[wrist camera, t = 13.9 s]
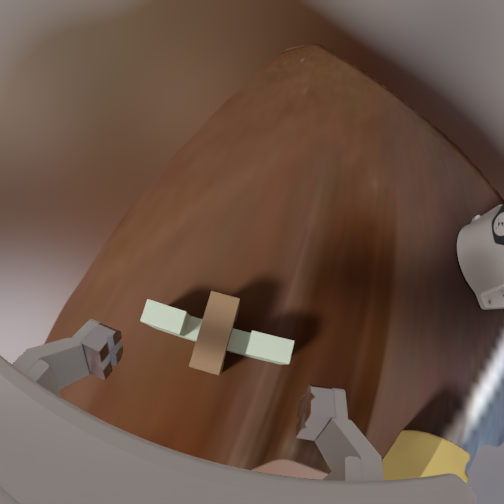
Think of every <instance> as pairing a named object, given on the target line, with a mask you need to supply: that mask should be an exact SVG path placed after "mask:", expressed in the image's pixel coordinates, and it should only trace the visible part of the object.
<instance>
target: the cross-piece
mask: <svg viewBox="0 0 504 504" xmlns="http://www.w3.org/2000/svg"><path fill="white" fill-rule="evenodd" d="M239 303H240V298H236V297H232V296H229V295H225V294H221V293H218V292H214V291H211V293H210V297H209V300H208V303H207V306H206V310H205V313H204V316H203V320H202V323H201V326H200V330H199V333H198V337H197V340H196V343H195V347H194V350H193V354H192V357H191V361H190V364H189V367H193V368H196V369H199V370H202V371H206V372H209V373H213V374H216V375H220V374H221V373H222V370H223V366H224V363H225V361H224V358H225V355H226V351H227V347H228V344H229V340H230V337H231V333H232V329H233V326H234V322H235V323H236V319H237V316H238V312H239Z"/></svg>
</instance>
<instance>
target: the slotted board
mask: <svg viewBox="0 0 504 504" xmlns="http://www.w3.org/2000/svg"><path fill="white" fill-rule="evenodd" d="M202 320H203V319H199V318H196V317H193V316H190V315H189V314H188V313H187V312H186V311H183V310H180V309H177V308H174V307H170V306H167V305H164V304H161V303H158V302H155V301H152V300H149V299H147V302H146V305H145V308H144V311H143V314H142V317H141V320H140V321H142V322H144V323H145V324H147V325H149V326H151V327H153V328H155V329H158V330H161V331H164V332H167V333H170V334H173V335H176V336H179V337H182V338H185V339H188V340H191V341H195V342H196V340H197V337H198V333H199V330H200V326H201V323H202ZM293 346H294V340H289V339H285V338H281V337H277V336H273V335H269V334H265V333H261V332H257V331H253V330H252V332H251V333H249V332H245V331H242V330H238V329H234V328H233V329H232V333H231V337H230V340H229V344H228V347H227V351H229V352H232V353H236V354H240V355H244V356H248V357H251V358H255V359H259V360H263V361H268V362H272V363H276V364H289V362H290V358H291V354H292V350H293Z"/></svg>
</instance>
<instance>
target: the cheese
mask: <svg viewBox="0 0 504 504" xmlns="http://www.w3.org/2000/svg"><path fill="white" fill-rule="evenodd" d="M469 459H470V453H468V452H467V451H465V450H463V449H462V448H460V447H459V446H457V445H456V444H454V443H453V442H451V441H449V440H447V439H444V438H442V437H439V436H436V435H433V434H430V433H427V432H422V431H415V430H402V431H401V433H400V434H399V436H398V437H397V439H396V441H395V442H394V444H393V445H392V447H391V448H390V450H389V451H388V453H387V454H386V456H385V457H384V459H383V460H382V468H383V478H384V480H399V479H411V478H420V477H428V476H435V475H441V474H447V473H454V474H456V475H457V476H459V477H460V478H461V479H462V480H463V481H464V482H465V483H466V484H467V481H468V475H467V473H466V472H465V467H466V465H467V463H468V461H469Z"/></svg>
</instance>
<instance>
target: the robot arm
mask: <svg viewBox="0 0 504 504" xmlns="http://www.w3.org/2000/svg"><path fill="white" fill-rule="evenodd" d="M457 255H458V260H459V264H460V268H461V270H462V273H463V275H464V277H465V279H466V281H467V283H468V284H469V286H470V287H471V288H472V290H473V291H474V293H475V294H476V297H477V300H478V302H479V305H480V307H481V308H482V309H483V310H491V309H504V204H503V205H498V206H497V207H495V208H494V209H492V210H490V211H489V212H487V213H486V214H484V215H482V216H480V215H476V216H475V217H474V218H473V219H472V221H471V223H470V224H468V225H466V226H464V227H463V228H462V229H461V231H460V232H459V235H458V239H457ZM121 338H122V337H121V332H120V331H119V330H116V329H114V328H112V327H109V326H107V325H105V324H103V323H100V322H98V321H96V320H94V319H91V320H89V321H88V322H87V323H86V324H85V325H84V326H83V327H82V328H81V329H80V330H79V331H78V332H77V333H76V334H75V335H74V336H73V337H72V338H71V339H70V338H65V339H61V340H58V341H55V342H51V343H48V344H44V345H41V346H37V347H34V348H30V349H27V350H26V351H25V352H24V353H23V354H22V355H21V356H20V357H19V358H18V359H17V360H16V361H15V362H14V363H13V364H11V363H9V362H8V361H7V360H5V359H4V358H3V357H2V356H0V504H477V502H476V498H475V494H474V492H473V490H472V489H471V488H470V487H469V486H468V485H467V484H466V483H465V482H464V481H463V480H462V479H461V478H460V477H459V476H457V475H456V474H454V473H447V474H441V475H435V476H428V477H420V478H411V479H399V480H384V478H383V468H382V459H381V456H380V455H379V453H378V452H377V451H376V450H375V449H374V447H373V446H372V445H371V444H370V443H369V441H368V440H367V439H366V438H365V436H364V435H363V434H362V433H361V432H360V430H359V429H358V428H357V427H356V425H355V424H354V423H353V422H352V420H348V414H347V403H346V394H345V390H343V389H336V388H330V387H323V386H317V385H311V384H310V385H309V386H308V387H307V389H306V395H305V396H303V397H302V399H301V401H300V404H299V407H298V413H297V417H298V418H299V422H298V424H297V427H296V438H301V439H307V440H314V441H315V443H316V445H317V446H318V448H319V450H320V452H321V454H322V455H323V457H324V459H325V461H326V462H327V464H328V466H329V468H330V469H331V471H332V472H331V473H329V474H328V475H327V476H326V477H325V478H324V479H323V480H316V479H306V478H296V477H288V476H281V475H280V476H279V475H273V474H267V473H262V472H255V471H251V470H246V469H241V468H236V467H232V466H228V465H224V464H219V463H216V462H212V461H208V460H204V459H201V458H198V457H194V456H191V455H188V454H184V453H181V452H178V451H175V450H172V449H169V448H167V447H164V446H161V445H158V444H156V443H153V442H150V441H148V440H145V439H143V438H140V437H138V436H135V435H133V434H131V433H128V432H126V431H124V430H121V429H119V428H117V427H115V426H113V425H111V424H109V423H106V422H104V421H102V420H100V419H98V418H96V417H94V416H92V415H91V414H89V413H87V412H85V411H83V410H81V409H79V408H78V407H76V406H74V405H72V404H70V403H69V402H67V401H65V400H64V399H62V396H61V394H60V391H59V389H60V388H62V387H64V386H67V385H69V384H71V383H73V382H75V381H77V380H79V379H81V378H83V377H85V376H87V375H89V373H90V374H92V375H94V376H97V377H99V378H101V379H103V380H106V379H107V377H108V376H109V375H110V373H111V372H112V366H113V365H116V364H118V362H119V361H120V359H121V356H122V353H123V345H122V344H121V342H120V341H119V340H120V339H121Z"/></svg>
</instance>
